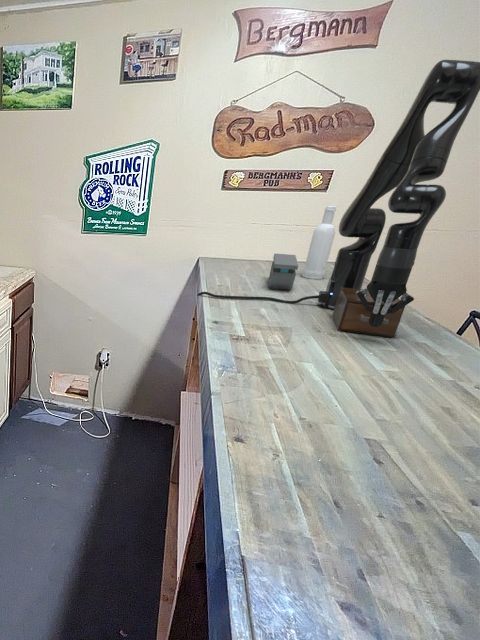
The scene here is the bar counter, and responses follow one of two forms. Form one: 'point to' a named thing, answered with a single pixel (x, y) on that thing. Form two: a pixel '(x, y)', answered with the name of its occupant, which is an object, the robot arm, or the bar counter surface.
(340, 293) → the cabinet
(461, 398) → the bar counter surface
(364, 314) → the drawer
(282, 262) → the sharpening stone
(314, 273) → the bottle
